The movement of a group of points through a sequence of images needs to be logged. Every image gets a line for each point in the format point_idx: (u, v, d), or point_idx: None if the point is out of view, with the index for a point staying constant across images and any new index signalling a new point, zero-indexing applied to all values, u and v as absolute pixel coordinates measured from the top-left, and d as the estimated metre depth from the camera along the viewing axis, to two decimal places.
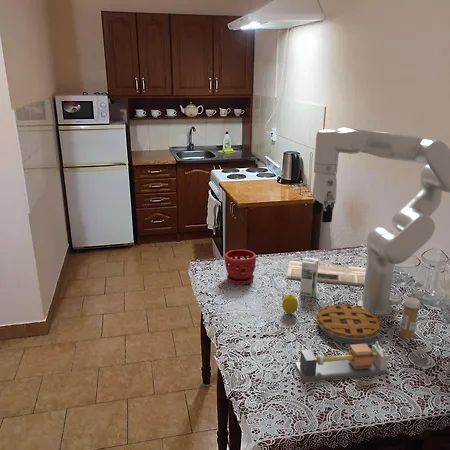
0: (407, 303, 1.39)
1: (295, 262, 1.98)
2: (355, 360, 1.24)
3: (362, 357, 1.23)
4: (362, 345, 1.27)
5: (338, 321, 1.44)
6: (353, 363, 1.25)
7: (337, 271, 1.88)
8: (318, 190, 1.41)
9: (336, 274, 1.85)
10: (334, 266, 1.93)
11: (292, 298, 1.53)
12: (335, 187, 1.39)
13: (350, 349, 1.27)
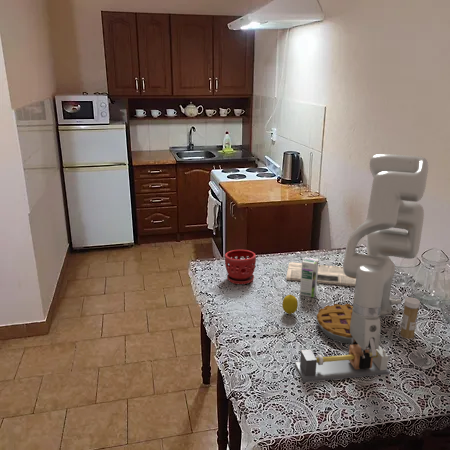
0: (407, 303, 1.39)
1: (295, 263, 1.96)
2: (355, 360, 1.24)
3: None
4: None
5: (338, 321, 1.44)
6: (353, 363, 1.25)
7: (337, 272, 1.87)
8: (358, 332, 1.21)
9: (336, 276, 1.84)
10: (334, 268, 1.92)
11: (292, 298, 1.53)
12: (379, 332, 1.19)
13: (350, 349, 1.27)
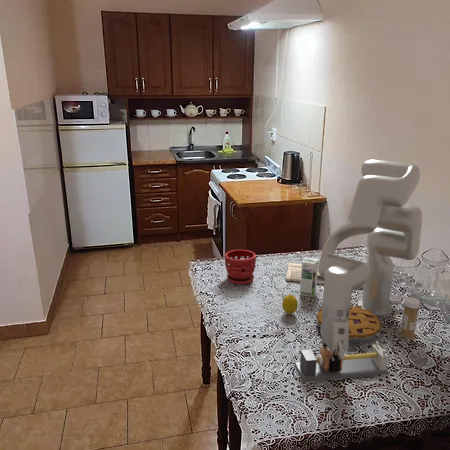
0: (407, 303, 1.39)
1: (294, 264, 1.95)
2: (325, 363, 1.23)
3: None
4: None
5: None
6: (323, 366, 1.24)
7: None
8: (327, 335, 1.20)
9: None
10: None
11: (292, 298, 1.53)
12: (347, 335, 1.17)
13: (320, 351, 1.26)
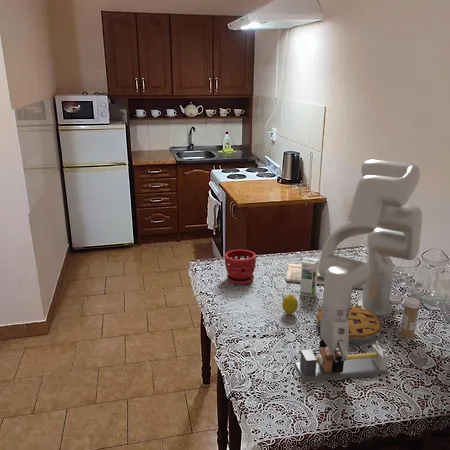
0: (407, 303, 1.39)
1: (294, 265, 1.95)
2: (325, 363, 1.23)
3: (332, 360, 1.22)
4: None
5: None
6: (323, 366, 1.24)
7: None
8: (327, 335, 1.20)
9: None
10: None
11: (292, 298, 1.53)
12: (347, 335, 1.17)
13: (320, 351, 1.26)
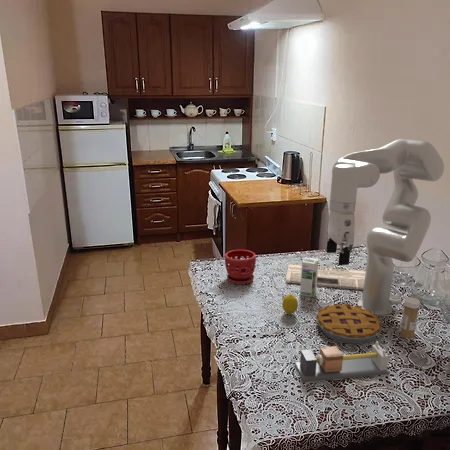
0: (407, 303, 1.39)
1: (294, 266, 1.93)
2: (325, 363, 1.23)
3: (332, 360, 1.22)
4: (333, 347, 1.26)
5: (338, 321, 1.44)
6: (323, 366, 1.24)
7: (337, 275, 1.84)
8: (334, 229, 1.29)
9: (336, 278, 1.81)
10: (334, 270, 1.89)
11: (292, 298, 1.53)
12: (353, 227, 1.26)
13: (320, 351, 1.26)
